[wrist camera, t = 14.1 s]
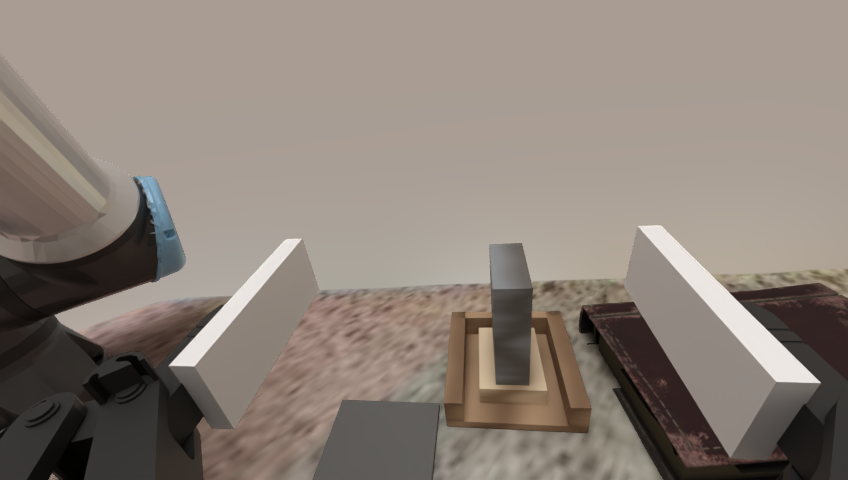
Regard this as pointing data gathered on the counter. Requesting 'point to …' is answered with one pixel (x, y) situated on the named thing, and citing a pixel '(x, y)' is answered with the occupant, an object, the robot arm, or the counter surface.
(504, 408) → the tray
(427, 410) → the mat
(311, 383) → the counter surface
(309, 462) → the counter surface
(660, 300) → the robot arm
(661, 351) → the diary
